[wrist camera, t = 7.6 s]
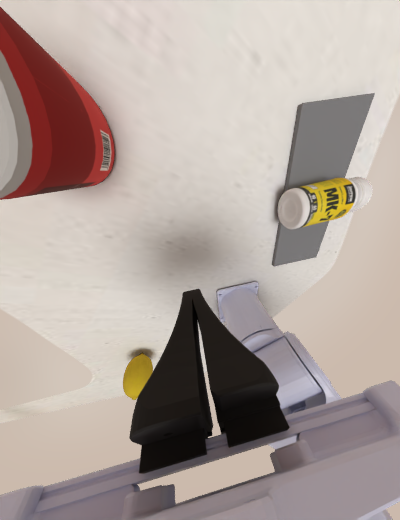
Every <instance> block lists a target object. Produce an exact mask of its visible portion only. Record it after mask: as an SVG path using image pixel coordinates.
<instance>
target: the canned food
mask: <svg viewBox="0 0 400 520" xmlns="http://www.w3.org/2000/svg"><path fill="white" fill-rule="evenodd" d="M114 155H115V152H114V143H113V139H112V135H111V131H110V129H109V126H108V124H107V121H106V119H105V117H104V115H103V114H102V112H101V110H100V108H99V107H98V105H97V104H96V103H95V101H94V100H93V99H92V97H91V96H90V95H89V94H88V93H87V92H86V91H85V90H84V88H83V87H82V86H81V85H80V84H79V83H78V82H77V81H76V80H75V79H74V78H73V77H72V76H71V75H69V74H68V73H67V72H66V71H65V70H64V69H63V68H62V67H61V66H60V65H59V64H58V63H57V62H56V61H55V60H54V59H53V58H52V57H51V56H50V55H49V54H48V53H47V52H46V51H45V50H44V49H43V48H42V47H41V46H40V45H39V44H38V43H37V42H36V41H35V40H34V39H33V38H32V37H31V36H30V35H29V34H28V33H27V32H26V31H25V30H23V29H22V28H21V27H20V26H19V25H18V24H17V23H16V22H15V21H14V20H13V19H12V18H11V17H10V16H9V15H8V14H7V13H6V12H5V11H4V10H3V9H2V8H1V7H0V200H2V199H12V198H18V197H25V196H31V195H37V194H44V193H50V192H57V191H63V190H69V189H76V188H82V187H88V186H93V185H97V184H98V183H100V182H102V181H103V180H104V179H105V178H106V177H107V176H108V175H109V173H110V171H111V169H112V166H113V163H114Z"/></svg>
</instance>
